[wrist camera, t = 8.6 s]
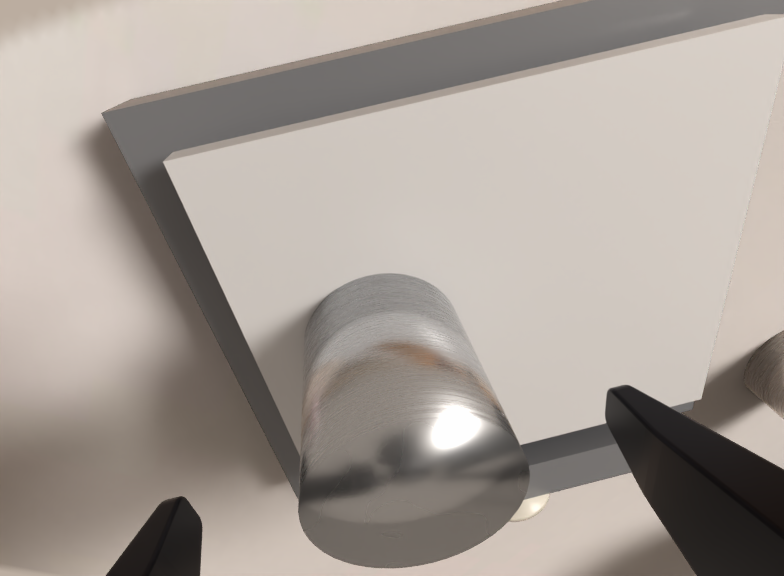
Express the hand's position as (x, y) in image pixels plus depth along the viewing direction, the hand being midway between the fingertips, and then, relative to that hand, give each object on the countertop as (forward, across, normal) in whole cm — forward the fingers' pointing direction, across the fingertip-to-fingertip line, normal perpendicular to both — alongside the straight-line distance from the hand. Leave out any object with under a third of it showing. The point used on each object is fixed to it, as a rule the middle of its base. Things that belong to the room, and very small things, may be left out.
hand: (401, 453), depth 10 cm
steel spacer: (+4, 0, 0) cm, 4 cm away
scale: (+8, -4, +1) cm, 9 cm away
